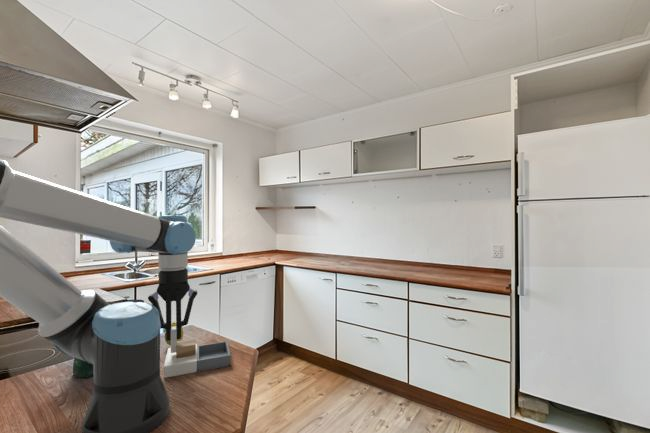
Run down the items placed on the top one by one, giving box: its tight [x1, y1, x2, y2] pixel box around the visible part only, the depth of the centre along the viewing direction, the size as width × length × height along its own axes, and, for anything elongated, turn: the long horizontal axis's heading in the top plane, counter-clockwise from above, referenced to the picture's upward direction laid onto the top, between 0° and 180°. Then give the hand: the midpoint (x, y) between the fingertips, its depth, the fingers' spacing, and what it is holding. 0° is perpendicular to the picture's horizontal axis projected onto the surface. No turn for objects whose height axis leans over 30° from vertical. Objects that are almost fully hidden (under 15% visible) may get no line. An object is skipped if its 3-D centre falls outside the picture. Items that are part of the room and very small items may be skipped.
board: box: [163, 343, 198, 379], centre depth 88 cm, size 13×8×3 cm, turn 23°
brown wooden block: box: [176, 338, 197, 358], centre depth 88 cm, size 5×5×3 cm
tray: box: [196, 340, 231, 373], centre depth 90 cm, size 11×9×3 cm
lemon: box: [164, 321, 184, 346], centre depth 100 cm, size 6×6×8 cm
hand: (174, 350), depth 87 cm, fingers closed
